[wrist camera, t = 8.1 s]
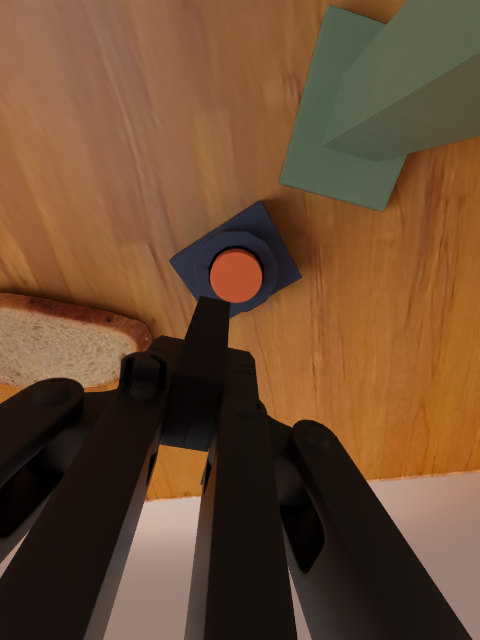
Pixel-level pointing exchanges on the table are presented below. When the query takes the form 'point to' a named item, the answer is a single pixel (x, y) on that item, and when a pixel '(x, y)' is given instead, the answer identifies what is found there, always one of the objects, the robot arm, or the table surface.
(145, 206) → the table surface
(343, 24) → the stand
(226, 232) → the push button switch
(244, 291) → the button
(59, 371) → the bread slice
